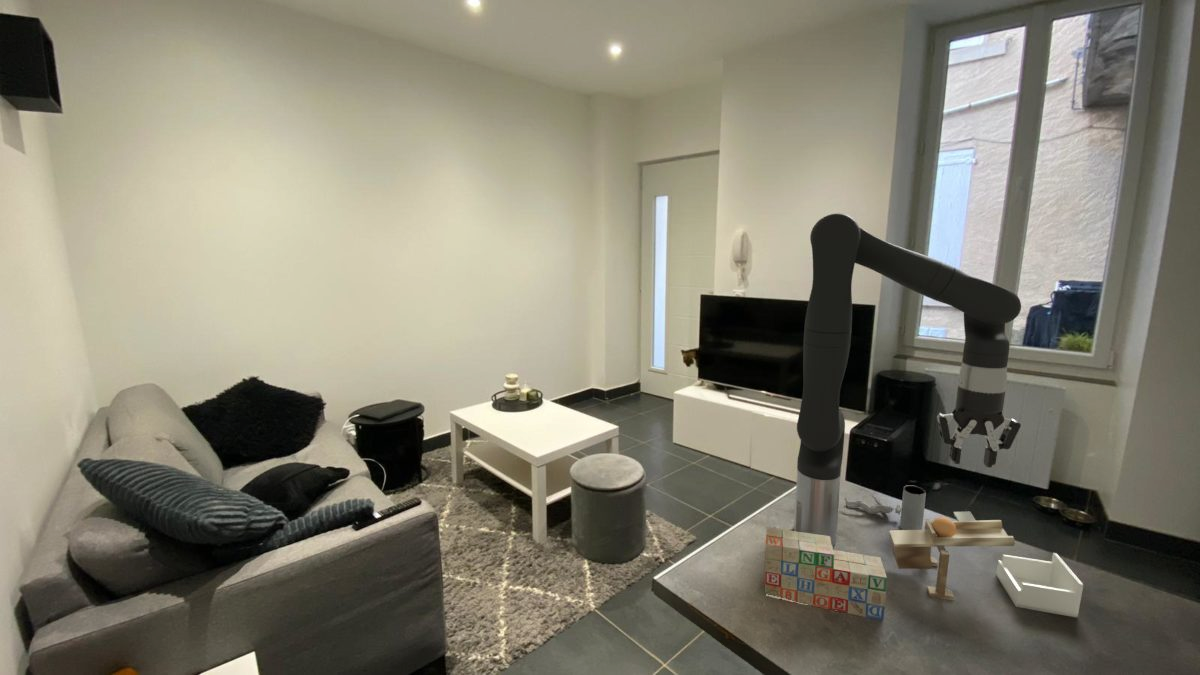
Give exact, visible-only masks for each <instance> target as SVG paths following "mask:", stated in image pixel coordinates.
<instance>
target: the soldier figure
mask: <svg viewBox="0 0 1200 675" xmlns="http://www.w3.org/2000/svg"><path fill="white" fill-rule="evenodd" d="M869 496H871V497H872V498H873V499H874V502H873V504H871V505H869V504H867V503H866V502H865V501H862V500H861V499H858V500H853V501H852V500H848V498H847V496H845V497H844V501H845V504H846V505H845V506H847V508H861V509H863V510H864V511H865V512H866V513H868V514H870V515H877V514H880V513H881V514H891V513H892V512H893V511H894V510H895V511H894V513H895V514H897V515H901V508H902V506H901V505H900V503H898V502H897V504H896V505H893V506H892V505H890V504H887V503H882V502H880V501H879V500H878V498H877V496H875V495H874V494H872V493H871V494H870V495H869ZM895 506H896V507H895Z"/></svg>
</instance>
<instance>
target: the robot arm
mask: <svg viewBox="0 0 1200 675" xmlns="http://www.w3.org/2000/svg"><path fill="white" fill-rule="evenodd" d="M809 240H810V244H811V251H812V284H811V290H810V295H809V300H808V303H807V308H806V314H805V319H804V328H803V329H804V330H803V344H802V346H803V350H802V351H803V352H802V353H803V355H802V358H803V359H802V360H803V361H802V375H803V387H802V388H803V389H802V397H801V402H800V407H799V412H798V413H799V414H798V419H797V423H796V432H797V436H798V438H799V440H800V445H799V451H798V456H797V464H796V466H797V467H796V491H795V496H794V520H793V529H794V530H793V531H796V532H804V533H811V534H818V535H825V536H830V538H831V544H832V547H834V546H835V545H836V543H837V535H838V523H839V522H838V520H839V507H840V506H839V505H840V502H839V501H840V490H841V472H842V464H843V457H844V447H845V446H844V445H845V431H846V421H845V416H844V415H843V414H844V413H843V412H842V411H841V409H840V396H841V388H842V384H843V380H844V377H845V372H846V368H847V365H848V362H849V360H848V359H849V356H850V354H849V353H850V349H851V340H852V329H853V328H852V327H853V326H852V324H853V300H852V299H853V296H852V294H853V293H852V284H853V276H854V275H853V274H854V269H855V265H859V266H862V267H864V268H867V269H868V270H869V269H870V270H872V271H874V272H876V273H879V274H880V275H882V276H883V277H886V278H888V279H889V280H892V281H893V282H895V283H897V284H899V285H901V286H903V287H905V288H906V289H909V290H910V291H913V292H916V293H918V294H920V295H922V296H924V297H927V298H930V299H932V300H934V301H936V302H938V303H941V304H944V305H945V304H946V305H948V306H951V308H954V309H956V310H958V311H960V312H962V313H963V327H964V344H963V349H962V350H963V352H962V360H961V361H962V362H961V366H960V369H959V374H958V377H957V390H956V391H957V392H956V397H955V398H956V400H955V408H954V409H953V411H952V412H951V413H946V414H945V413H942V412H937V413H936V422H937V426H938V432H939V437H940V439H941V440H942V442H943V443H944V444H946V445H949V446H950V447H949V454H948V456H949V458H950V460H951V461H952V463H954V464H955V465H960V463H961V455H962V454H961V453H962V445H963V443H964V441H965V440H967V439H968V438H969V436H970V435H980V436H984V438H985V442H986V444H987V445H986V446H985V448H984V455H983V456H984V457H983V464H984V466H985V467H986V468H993V466H995V464H996V463H997V456H998V455H997V454H998V451H1000V450H1009V449H1011V447H1012V445H1013V443H1014V441H1015V440H1016V437H1017V435H1018V433H1019V430H1020V428H1021V426H1022V425H1021V423H1020V422H1019V421H1018V420H1016V419H1015V418H1012V417H1011V418H1007V417H1004V414H1003V410H1004V404H1005V396H1006V391H1007V382H1008V364H1009V362H1008V361H1009V354H1010V342H1009V338H1008V337H1007V336H1006V332H1005V329H1006V327H1005V326H1006V324H1008V323H1010V322H1012V321H1014V320H1015V319H1016V318H1018V316H1019V314H1020V313H1021V311H1022V310H1021V309H1022V302H1021V300H1020V298H1019V296H1018V295H1017V294H1016V293H1015V292H1014V291H1013V290H1010V289H1009V288H1006V287H1003V286H1000V285H998V284H995V283H993V282H989V281H987V280H984V279H981V278H979V277H975V276H972V275H970V274H968V273H966V272H965V271H963V270H960V269H958V268H956V267H954V266H952V265H949V264H947V263H945V262H942V261H940V260H938V259H935V258H934V257H930V256H928V255H925V254H922V253H919V252H917V251H913V250H911V249H907V248H904V247H901V246H899V245H897V244H893V243H890V242H888V241H886V240H884V239H882V238H879V237H877V236H875V235H874V234H871V233H869V232H868V231H867V230H865V229H864V228H862V227H860V226H859V224H858V222H857V221H856V220H855V219H854V218H853V217H851V216H850V215H848V214H845V213H839V212H838V213H831V214H827V215H826V216H823V217H822V218H820V219H819V220H817V222H816V223H815V224H814V225H813V227H812V228H811V231H810V239H809ZM952 420H954V421H955V422H956V424H957V425H956V427H955V429H954V431H953V434H952V436H951V434H950V430H949V429H950V428H949V425H951V424H952ZM1001 425H1002V427H1003V430H1002V432H1001V434H1000V436H999V438H998V439H997V435H996V431H995V430H996V429H997V428H999V426H1001Z"/></svg>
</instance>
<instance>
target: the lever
mask: <svg viewBox="0 0 1200 675" xmlns="http://www.w3.org/2000/svg"><path fill="white" fill-rule="evenodd" d="M953 515H954V517H955V518H956V520H951V521H952V522H953V523H954V524H955V526H956V533H955V535H954V536H952V537H940V536H938V535H937V534H936V532H935V531H934V529H933V527H932V522H933V521H932V522H930V521H931V520H930V519H929V518H926V519H925V521H926V522H924V524H925V523H926V529H927V530H925V529H922V530H903V529H897V530H895V529H894V530H892V529H891V530H889V536H890V542H891V548H892V552H893V556H894V560H895V562H896V565H897V568H898V569H904V570H905V569H906V570H911V569H912V570H914V569H915V570H916V569H917V570H925V569H926V570H933V566H932V564H931V558H930V557H931V554H930V552H929V547H931V548H932V547H933V548H935V547H936V548H937V550H938V552H939V553H940V550H945V551H947V550H946V548H945V547H1015V545H1016V543H1015V537H1014V535H1008V534H1007V531H1006V530H1005V529H1004V528H1003V522H1002V520H1001V519H989V520H988V519H987V520H986V519H985V520H984V519H982V520H980V519H979V520H976V518H975V517H974V515H973V513H972V512H971V511H969V510H968V511H953Z"/></svg>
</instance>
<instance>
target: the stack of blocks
mask: <svg viewBox="0 0 1200 675" xmlns="http://www.w3.org/2000/svg"><path fill="white" fill-rule="evenodd" d="M765 530H766V531H765V552H764V553H765V554H764V560H765V561H764V562H765V563H764V594H765V593H766V594H768V595H773V596H777V597H781V598H786V599H788V600H792V601H796V602H799V603H803V604H808V605H814V606H817V607H816V608H818V607H822V608H821V609H823V608H827V609H826V610H828V609H832V610H831V611H834V610H837V611H836V612H839V611H841V612H840V613H844V612H845V614H849V615H854V616H855V615H856V616H859V617H865V618H867V619H868V618H869V619H873V620H879V621H884V618H885V609H886V601H887V600H886V599H887V584H888V582H887V581H888V576H887V574H886V571H885V570H886V569H885V567H884V565H883V562H882V558H881V557H880V556H875V555H874V556H872V555H867V554H862V553H855V552H848V551H844V550H843V551H841V550H835V549H834V546H832V544H831V538H830V536H825V535H818V534H811V533H804V532H796V531H794V530H788V529H782V528H777V527H771V526H766V529H765Z"/></svg>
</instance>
